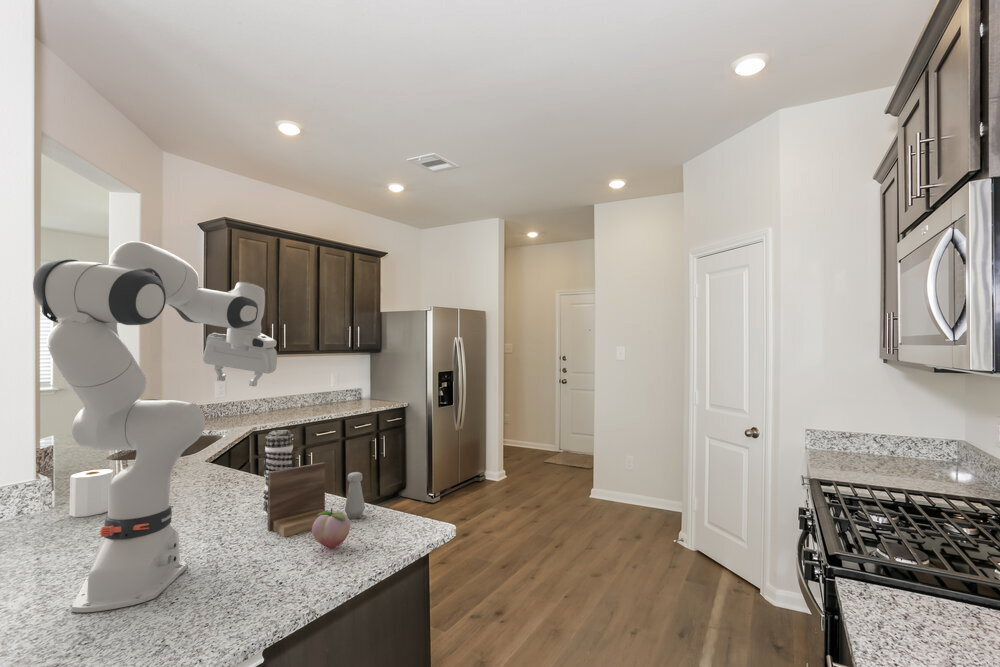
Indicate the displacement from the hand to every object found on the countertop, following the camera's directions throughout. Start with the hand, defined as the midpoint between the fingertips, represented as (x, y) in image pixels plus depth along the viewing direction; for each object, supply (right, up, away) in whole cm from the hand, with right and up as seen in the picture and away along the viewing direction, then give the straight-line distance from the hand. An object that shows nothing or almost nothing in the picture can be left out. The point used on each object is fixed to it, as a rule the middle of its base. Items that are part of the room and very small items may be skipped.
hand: (237, 383), depth 142 cm
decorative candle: (+9, -41, +7) cm, 43 cm away
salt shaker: (+34, -41, +3) cm, 53 cm away
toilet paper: (-50, -41, +8) cm, 65 cm away
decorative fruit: (+36, -40, -21) cm, 57 cm away
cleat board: (+22, -40, -5) cm, 46 cm away
